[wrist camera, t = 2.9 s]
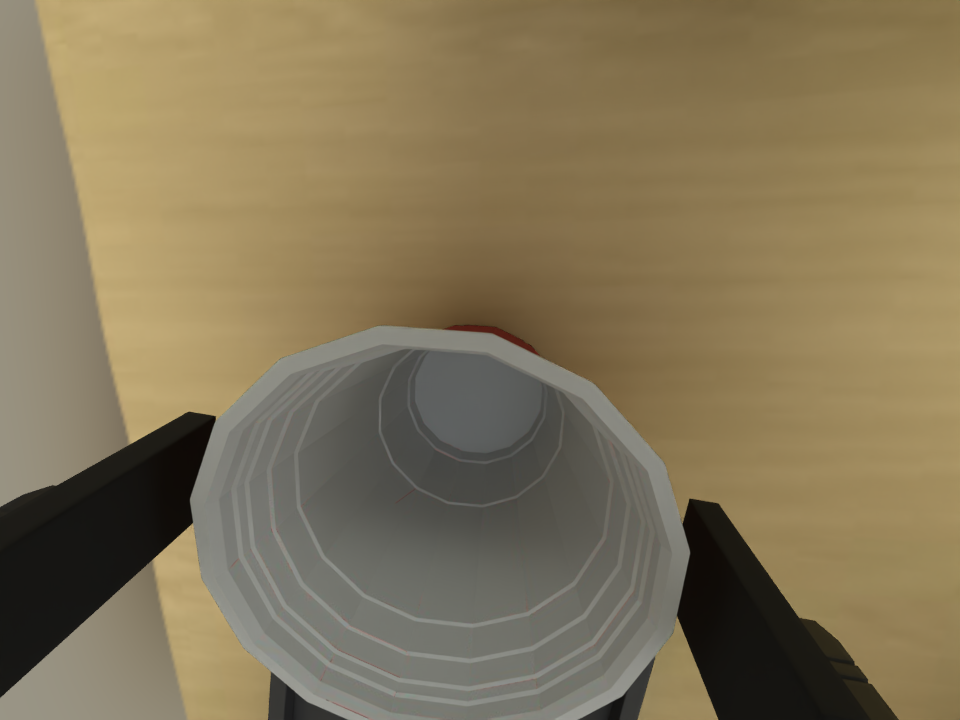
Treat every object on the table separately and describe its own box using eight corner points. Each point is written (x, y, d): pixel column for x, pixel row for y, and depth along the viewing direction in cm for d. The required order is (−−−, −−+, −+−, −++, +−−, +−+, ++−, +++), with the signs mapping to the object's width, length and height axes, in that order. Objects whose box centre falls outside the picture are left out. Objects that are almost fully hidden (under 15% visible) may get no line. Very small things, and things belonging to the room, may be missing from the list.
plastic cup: (330, 475, 24) (154, 706, 13) (378, 236, 22) (207, 257, 10) (564, 540, 24) (598, 832, 13) (643, 307, 21) (780, 412, 10)
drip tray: (297, 516, 25) (278, 541, 23) (657, 582, 24) (668, 613, 22) (278, 786, 29) (260, 826, 27) (583, 849, 29) (587, 894, 27)
